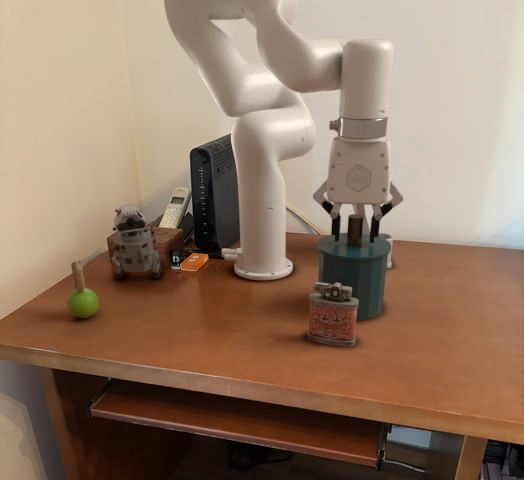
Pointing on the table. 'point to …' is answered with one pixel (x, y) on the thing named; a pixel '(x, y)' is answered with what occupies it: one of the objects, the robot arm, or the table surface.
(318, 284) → the lighter
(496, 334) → the table surface
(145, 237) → the figurine
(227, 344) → the table surface
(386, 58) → the robot arm
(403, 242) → the table surface
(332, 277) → the tin
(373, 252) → the tin lid
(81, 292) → the green ball with peg
